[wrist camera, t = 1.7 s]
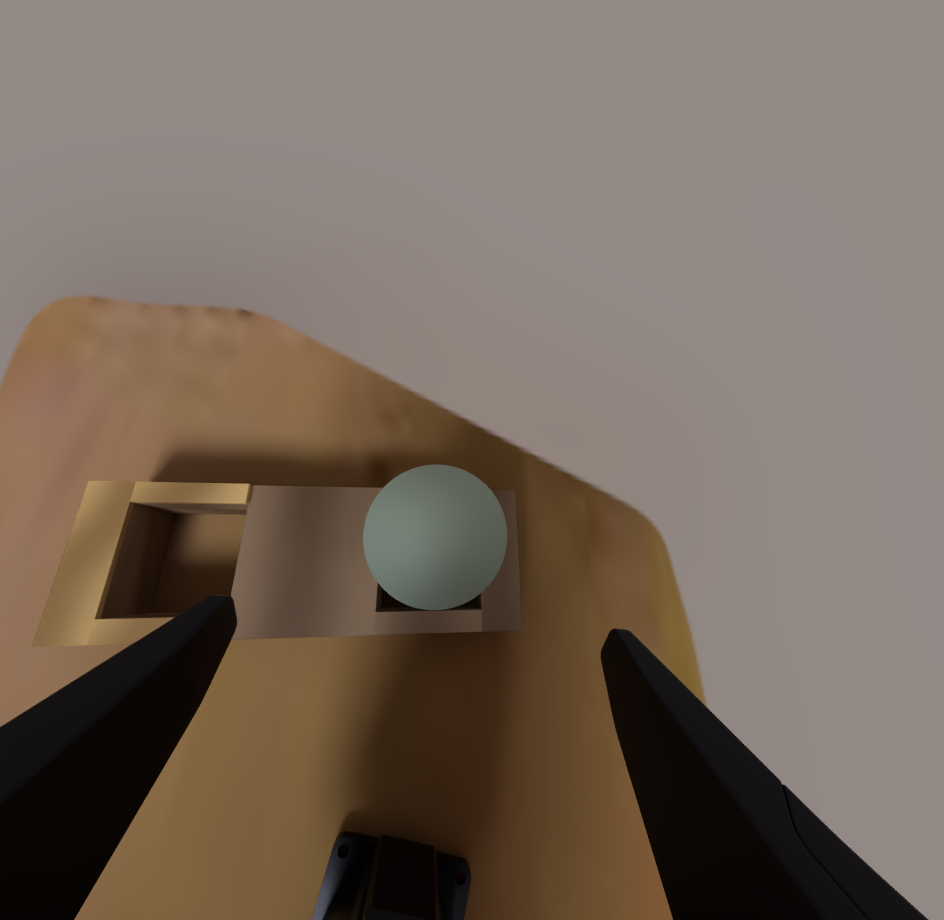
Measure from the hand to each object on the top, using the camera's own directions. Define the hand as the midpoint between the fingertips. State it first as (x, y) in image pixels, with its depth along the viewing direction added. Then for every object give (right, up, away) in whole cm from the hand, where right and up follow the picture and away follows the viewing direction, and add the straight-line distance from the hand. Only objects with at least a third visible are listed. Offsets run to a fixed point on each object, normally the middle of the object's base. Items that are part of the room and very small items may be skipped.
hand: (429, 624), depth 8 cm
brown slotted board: (-7, -2, +12) cm, 14 cm away
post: (-1, -2, +13) cm, 13 cm away
